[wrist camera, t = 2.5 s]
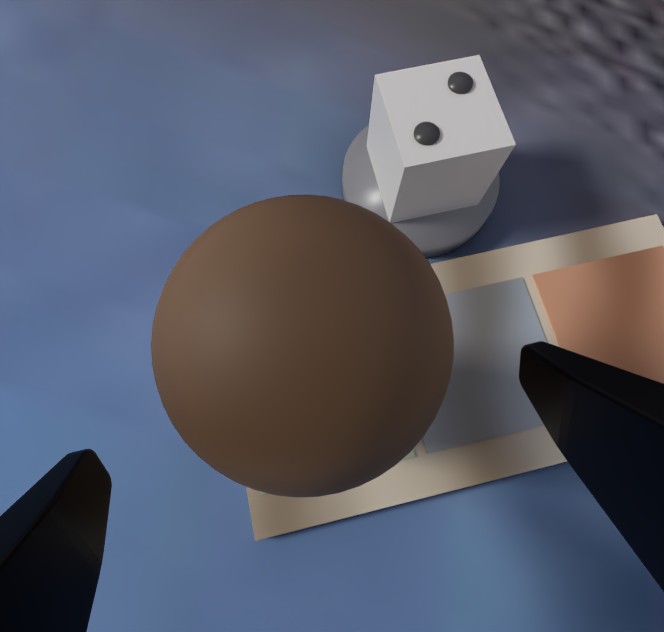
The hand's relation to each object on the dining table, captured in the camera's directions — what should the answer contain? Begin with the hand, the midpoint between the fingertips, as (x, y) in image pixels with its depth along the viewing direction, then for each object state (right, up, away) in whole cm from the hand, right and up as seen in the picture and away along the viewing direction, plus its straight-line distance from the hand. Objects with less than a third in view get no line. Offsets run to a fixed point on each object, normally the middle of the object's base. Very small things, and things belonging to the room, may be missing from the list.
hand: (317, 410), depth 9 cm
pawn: (0, -1, +8) cm, 8 cm away
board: (+6, 0, +9) cm, 11 cm away
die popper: (+4, +8, +11) cm, 14 cm away
